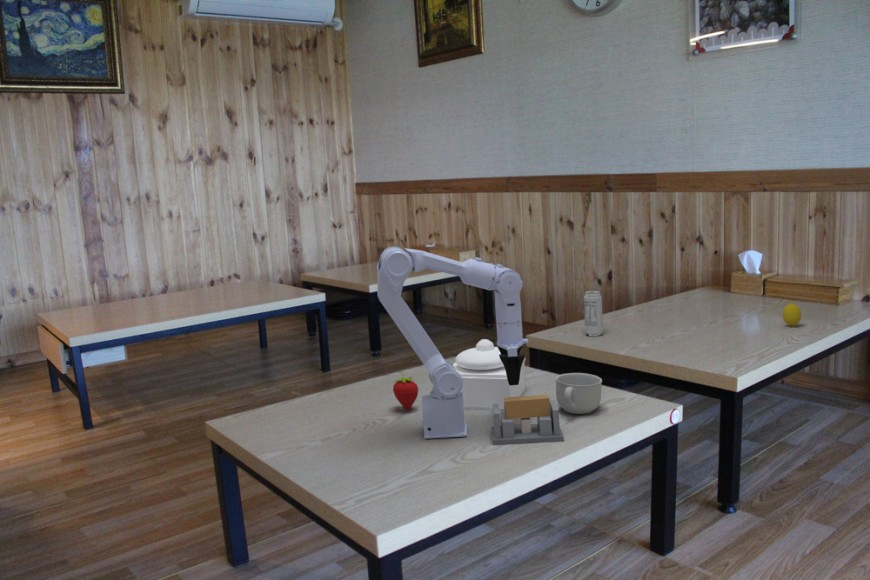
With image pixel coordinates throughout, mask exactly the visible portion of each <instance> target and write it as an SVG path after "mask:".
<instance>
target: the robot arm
mask: <svg viewBox="0 0 870 580" xmlns="http://www.w3.org/2000/svg"><path fill="white" fill-rule="evenodd" d="M482 260H483V259H482V258H480V257H477V256H476V257H475V258H468V259H467V260H465V261H462V262H461V261H459V260H456V259H455V260H454V259H452V258H448V257H445V256H442V255H438V254H434V253H431V252H428V251H425V250H420V249H412V248H407V247H405V248H404V249H403V248H401V247H398V246H395V245H394V246H389V247H387V248H385V249H384V250H383V251H382V252H381V254H380V256H379V259H378V261H377V262H378V263H377V264H376V274H377V281H376V282H377V285H376V286H377V287H376V288H377V293H376V294H377V298H378V301H379V302H380V303H381V305H382V306H383V307H384V310H385V311H386V312H387V313H388V315H389V316H390V317H391V319H392V321H393V323H394V324H395V325H396V326H397V328H398V329H399V330H400V332H401V334H402V335H403V336H404V338H405V340H406V341H407V342H408V344H409V346H410V347H411V348H412V349H413V351H414V352H415V354H416V356H417V357H418V358H419V360H420V361H421V363H422V364H423V365H424V367H425V369H426V370H427V371H428V379H429V381H430V382H431V384H432V385H433V387H432V389H431V390H430V394H426V395H425V394H424V395H422V396H421V409H422V410H421V412H422V428H423V437H424V439H444V438H445V439H446V438H461V437H463V438H464V437H465V438H466V437H467V436H468V423H467V422H465V409H464V406H463V392H462V390H461V389H462V386H463V379H462V377H461V375H460V374H459V373H458V372H457V371H456V370H455V367H454V366H453V364H452V363H451V362H450V361H448V360H446V359H445V358H444V357H443V355H442V354H441V352H440V351H439V349H438V348H437V346H436V345H435V343H434V342H433V341H432V339H431V338H430V336H429V335H428V333H427V332H426V331H425V328H423V326H422V324H421V323H420V321H419V320H418V319H417V317H416V315H415V314H414V312H413V311H412V310H411V309H410V307H409V306H408V304H407V303H406V301H405V300H404V298H403V297H402V291H403V289H404V288H403V287H404V285H405V281H406V280H407V278H408V277H409V275H410V273H411V272H412V271H413V272H414V273H418V272H421V271H423V270H431V271H435V272H440V273H443V274H449V275H452V276H456V277H459V278H460V280H461V282H462V283H463V284H464V285H468V286H472V287H476V288H479V289H484V290H487V291H494V300H495V301H494V305H495V323H496V337H497V338H496V339H497V341H496V345H497V347H498V349H499V351H500V353H501V354H499V357H500V360H501V361H502V363H503V365H504V368H505V371H506V375H507V380H508V383H509V385H518V384H519V380H520V371H521V366H522V363H523V361H524V358H525V359H526V354H525V353H521V350H522V348H523V346H524V345H525V344H528V343H529V339H528V338H524V337H523V336H524V334H523V321H522V320H523V319H522V304H521V303H522V302H521V293H520V292H521V291H522V290H523V286H524V281H522V277H521V275H520V274H519V273H518V272H517V271H515V270H513V269H511V268H508V267H506V266H503V265H502V264H499V263H496V264H492V263H488V262H485V261H482ZM520 353H521V354H520ZM524 362H525V361H524Z"/></svg>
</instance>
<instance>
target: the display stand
mask: <svg viewBox="0 0 870 580" xmlns="http://www.w3.org/2000/svg"><path fill="white" fill-rule="evenodd" d="M492 418H493V419H492V420H493V425H491V426H490V430H491V440H492V445H493V446H498V445H514V444H515V445H516V444H533V443H550V442H554V443H555V442H564V440H565V438H564V434H563V431H562V428H561V427H560V410H559V407H558V404H557V403H556V400H554V399H553V400H550V416H544V417H536V422H537V423H531V422H532V421H531V418H520V424H514V419H506V418H505V413H504V411H500V410H499V408H498V404H493V410H492Z"/></svg>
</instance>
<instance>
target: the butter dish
mask: <svg viewBox="0 0 870 580" xmlns="http://www.w3.org/2000/svg"><path fill="white" fill-rule="evenodd" d="M499 354H501V353H500V351H499V349H498V346H494V343H493V342H492V341H491V340H489V339H486V338H483V339H480V340H479V341H478V342H477V343H476V345H475V347H472V348H468V349H466V350H463V351H461V352H459V354H457V356H456V357H455V360H454V361H455V362H454V363H453V364H452V365H453V366H454V367H455V370H456V371H457V372H458V373H459V374H460V375H461V377H462V379H463V386H462V389H461V390H462V392H463V406H464V410H465V409H466V410H483V411H484V410H486V411H487V410H488V411H490V410H491V411H493V404H498V408H499V411H504V398H507V397H520V396H523V395H524V394H525V392H526V391H527V387H526V381H527V380H526V370H525V369H526V367H525V366H526V365H525V362H526V357H525V358H524V361H523V363H522V366H521V371H520V380H519V384H518V385H509V383H508V380H507V375H506V371H505V368H504V365H503V363H502V361H501V360H500V357H499Z"/></svg>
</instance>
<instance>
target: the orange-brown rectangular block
mask: <svg viewBox="0 0 870 580" xmlns="http://www.w3.org/2000/svg"><path fill="white" fill-rule="evenodd" d="M550 401H551V400H550V397H549V395H548V393H547V394H535V395H524V396H523V395H522V396H520V397H507V398H504V410H503V412H504V413H505V418H506V419H513V420H515V419H521V418H530V419H531V418H537V417H544V416H550Z"/></svg>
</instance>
